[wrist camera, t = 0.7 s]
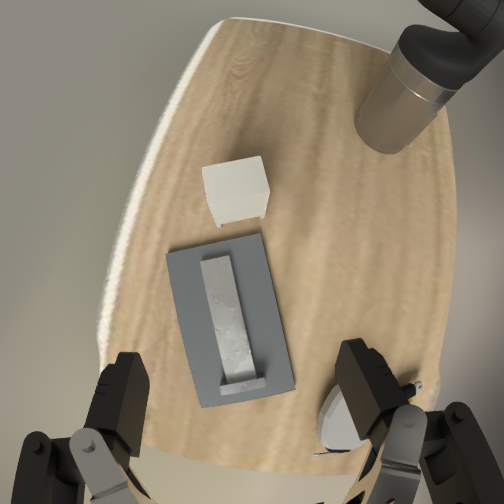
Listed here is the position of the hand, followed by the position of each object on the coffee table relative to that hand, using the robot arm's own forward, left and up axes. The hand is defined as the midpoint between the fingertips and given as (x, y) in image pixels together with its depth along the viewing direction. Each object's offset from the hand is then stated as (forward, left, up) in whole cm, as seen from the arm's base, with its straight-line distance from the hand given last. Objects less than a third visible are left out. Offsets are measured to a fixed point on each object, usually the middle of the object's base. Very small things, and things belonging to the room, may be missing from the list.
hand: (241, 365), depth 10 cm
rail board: (+2, 0, -24) cm, 24 cm away
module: (-2, -14, -24) cm, 27 cm away
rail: (+2, 0, -24) cm, 24 cm away
